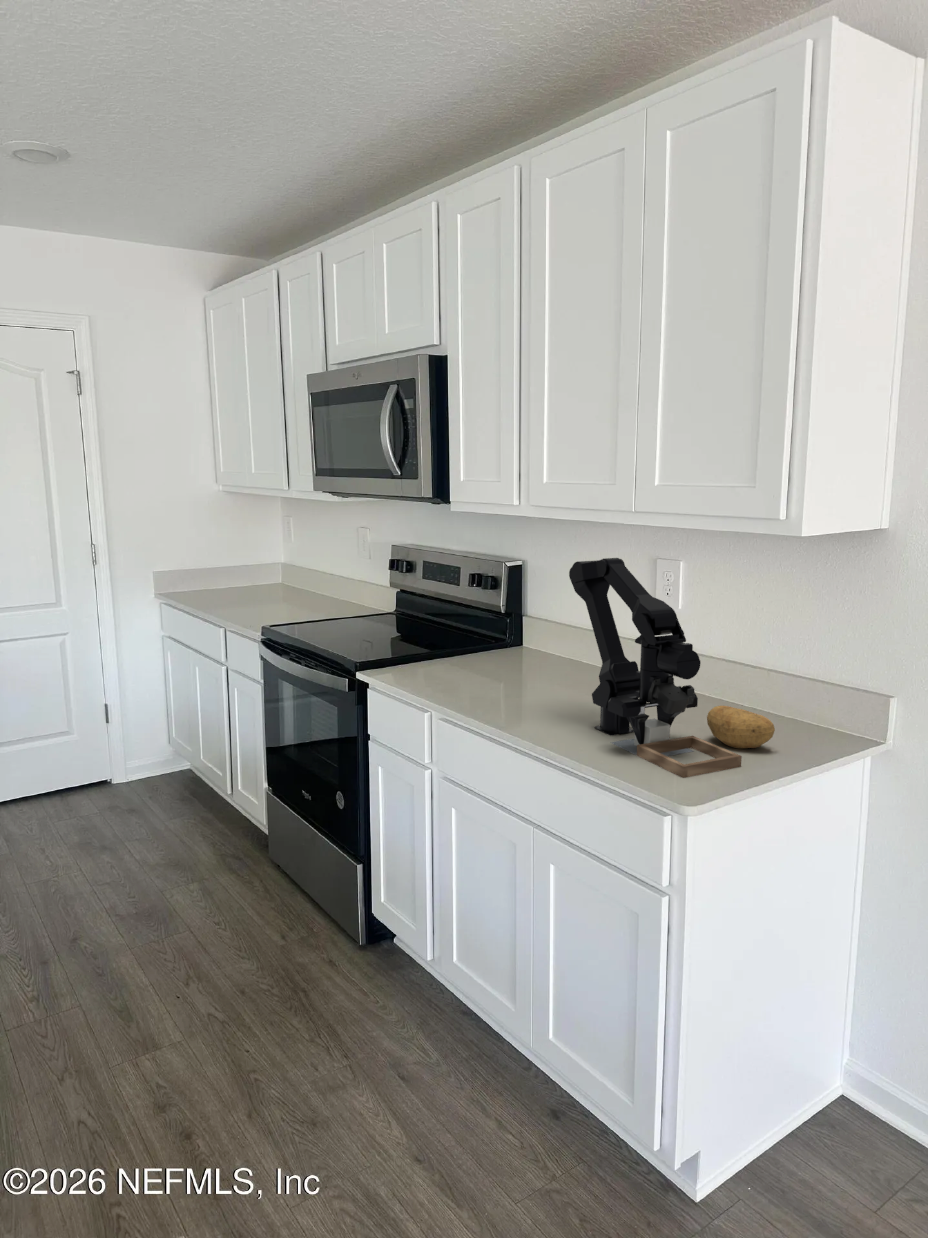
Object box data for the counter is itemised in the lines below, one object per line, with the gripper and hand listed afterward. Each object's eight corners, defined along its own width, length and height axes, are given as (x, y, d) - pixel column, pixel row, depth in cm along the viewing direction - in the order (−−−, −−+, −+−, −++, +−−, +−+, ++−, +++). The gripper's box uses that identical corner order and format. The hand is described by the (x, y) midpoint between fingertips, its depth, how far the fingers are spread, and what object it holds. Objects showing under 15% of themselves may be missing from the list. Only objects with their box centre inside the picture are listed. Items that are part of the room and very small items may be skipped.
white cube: (634, 744, 178) (635, 721, 177) (653, 741, 180) (654, 718, 179) (649, 752, 174) (650, 728, 173) (669, 748, 176) (670, 724, 175)
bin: (636, 757, 172) (637, 745, 171) (692, 747, 178) (692, 735, 177) (682, 779, 159) (683, 766, 159) (740, 768, 165) (741, 756, 165)
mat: (610, 744, 180) (610, 742, 180) (656, 736, 185) (656, 734, 185) (645, 761, 169) (646, 759, 169) (694, 753, 174) (694, 751, 174)
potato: (758, 761, 170) (761, 721, 168) (696, 744, 180) (698, 707, 179) (783, 750, 176) (785, 712, 175) (721, 734, 187) (723, 698, 185)
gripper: (641, 682, 163) (638, 761, 166) (718, 672, 171) (714, 748, 174) (607, 670, 173) (605, 744, 176) (681, 661, 181) (678, 732, 184)
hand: (651, 742), depth 177 cm, fingers closed on white cube, 5 cm apart
